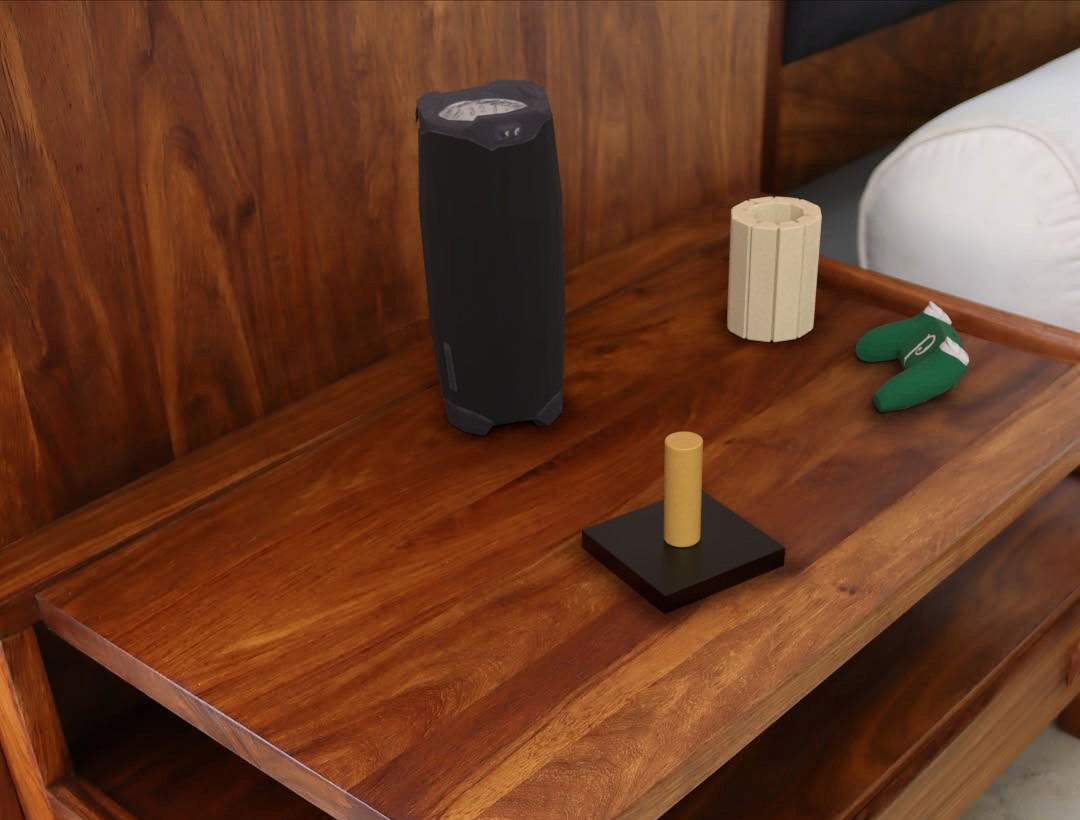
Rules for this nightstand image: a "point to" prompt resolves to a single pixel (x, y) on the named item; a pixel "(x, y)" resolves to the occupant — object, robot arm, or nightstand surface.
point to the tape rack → (682, 538)
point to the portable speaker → (493, 252)
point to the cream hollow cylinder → (773, 268)
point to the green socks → (916, 358)
